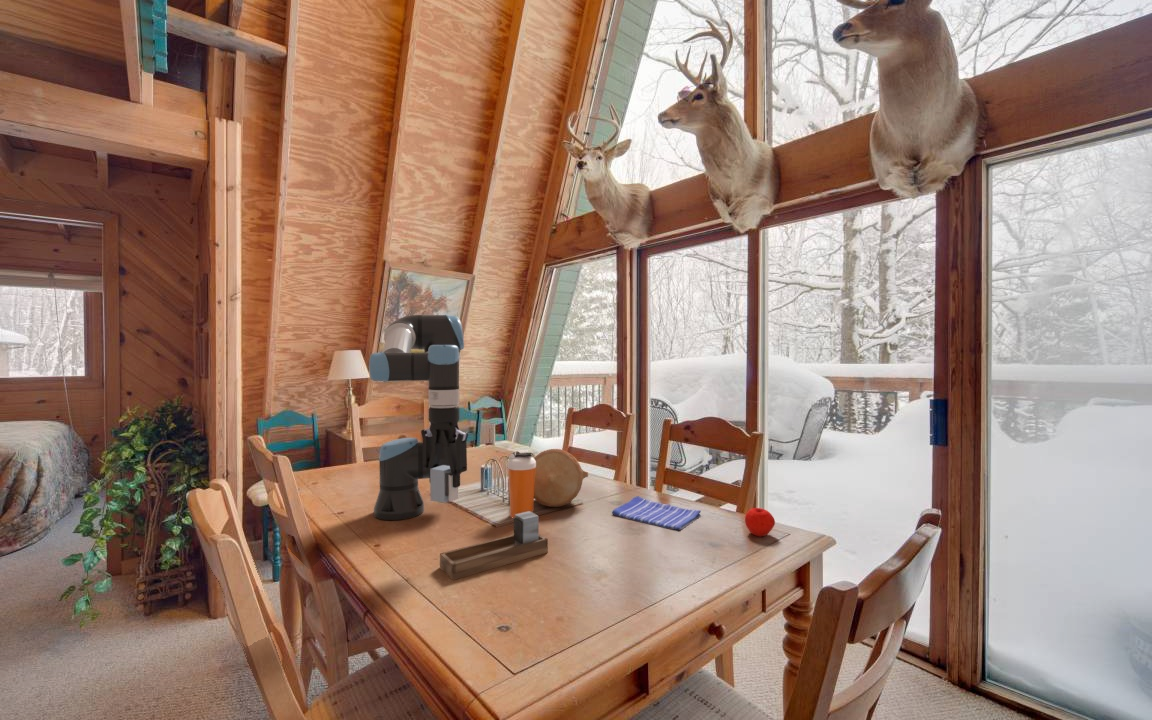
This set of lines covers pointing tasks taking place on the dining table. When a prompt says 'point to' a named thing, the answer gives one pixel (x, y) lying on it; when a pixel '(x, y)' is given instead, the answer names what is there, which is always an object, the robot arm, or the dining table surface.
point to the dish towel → (656, 513)
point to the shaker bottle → (521, 482)
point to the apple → (759, 521)
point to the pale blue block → (440, 483)
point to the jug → (557, 478)
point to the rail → (497, 549)
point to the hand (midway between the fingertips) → (444, 498)
